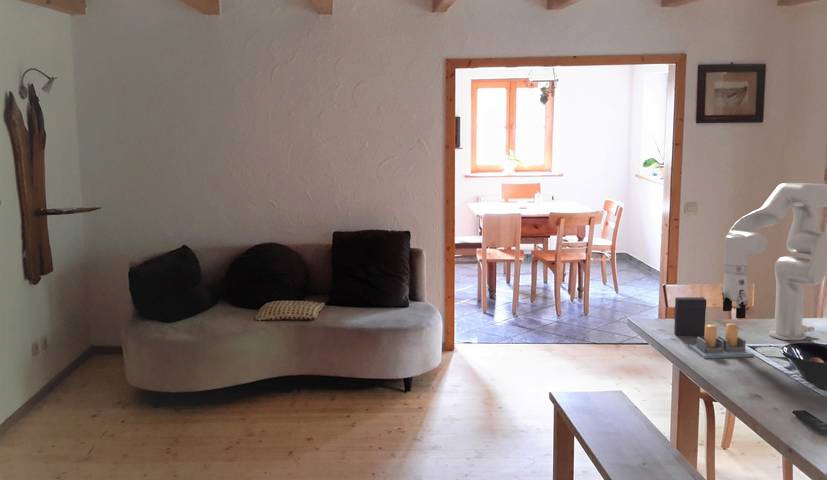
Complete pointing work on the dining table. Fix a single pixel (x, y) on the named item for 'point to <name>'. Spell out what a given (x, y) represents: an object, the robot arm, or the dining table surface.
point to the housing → (718, 345)
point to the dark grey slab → (690, 316)
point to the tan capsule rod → (731, 334)
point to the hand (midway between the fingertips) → (733, 314)
